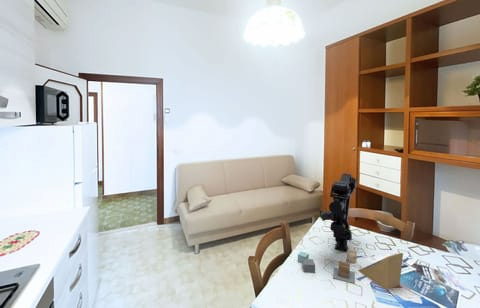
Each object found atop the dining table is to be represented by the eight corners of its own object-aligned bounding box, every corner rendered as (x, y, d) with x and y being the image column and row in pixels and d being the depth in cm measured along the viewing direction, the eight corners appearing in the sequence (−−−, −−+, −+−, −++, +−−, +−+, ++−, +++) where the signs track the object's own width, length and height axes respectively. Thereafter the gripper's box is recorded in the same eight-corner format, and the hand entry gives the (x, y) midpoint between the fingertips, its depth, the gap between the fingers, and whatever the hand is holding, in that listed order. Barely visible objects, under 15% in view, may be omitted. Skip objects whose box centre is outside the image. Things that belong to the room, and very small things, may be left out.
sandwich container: (370, 266, 121) (372, 237, 119) (400, 285, 107) (403, 252, 105) (356, 270, 118) (358, 240, 116) (386, 290, 104) (389, 256, 102)
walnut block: (338, 270, 116) (339, 260, 116) (349, 273, 115) (349, 262, 114) (338, 276, 112) (338, 265, 112) (349, 278, 111) (349, 268, 110)
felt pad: (334, 267, 119) (334, 267, 119) (354, 272, 116) (354, 271, 116) (332, 278, 111) (332, 277, 111) (354, 283, 108) (354, 283, 108)
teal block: (301, 258, 128) (301, 251, 127) (308, 261, 125) (308, 253, 125) (297, 261, 125) (297, 254, 124) (305, 264, 122) (305, 257, 122)
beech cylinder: (346, 257, 129) (347, 248, 128) (355, 259, 127) (356, 250, 126) (346, 262, 125) (347, 252, 124) (356, 264, 123) (356, 254, 122)
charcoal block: (301, 266, 121) (302, 258, 120) (312, 267, 120) (312, 259, 120) (303, 272, 116) (304, 264, 115) (314, 273, 115) (315, 265, 115)
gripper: (324, 200, 134) (322, 228, 136) (320, 211, 117) (318, 242, 119) (346, 203, 130) (344, 231, 132) (345, 214, 113) (343, 247, 115)
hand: (337, 237), depth 125 cm, fingers open, 9 cm apart
